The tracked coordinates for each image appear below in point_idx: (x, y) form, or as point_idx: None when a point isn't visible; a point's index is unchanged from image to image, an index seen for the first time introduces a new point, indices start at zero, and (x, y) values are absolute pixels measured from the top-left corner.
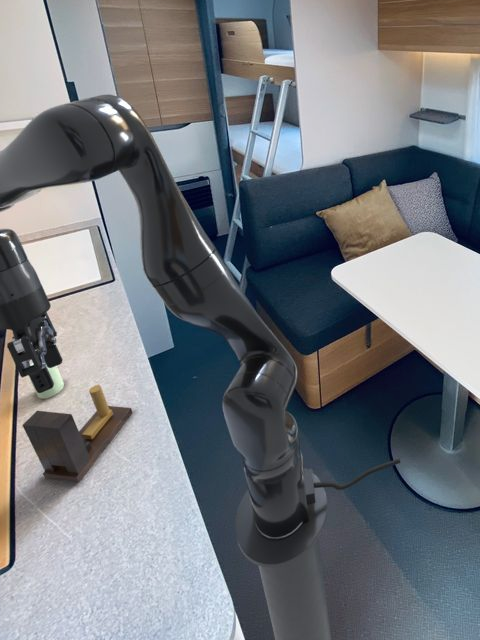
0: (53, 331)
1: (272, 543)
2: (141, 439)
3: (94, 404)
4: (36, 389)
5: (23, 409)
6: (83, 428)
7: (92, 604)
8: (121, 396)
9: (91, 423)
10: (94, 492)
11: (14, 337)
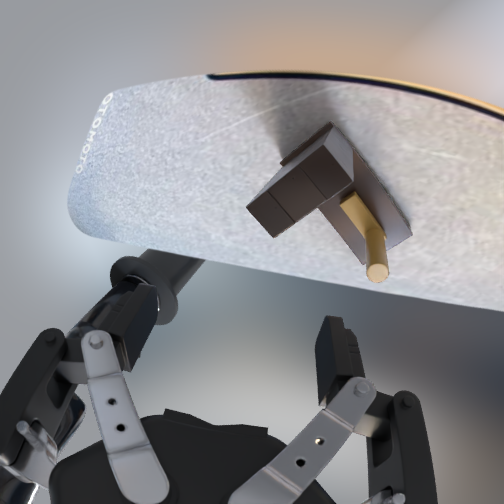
0: (368, 446)
1: (122, 275)
2: (296, 249)
3: (374, 244)
4: (134, 291)
5: None
6: (383, 196)
7: (124, 154)
8: (415, 258)
9: (368, 214)
10: (249, 174)
11: (51, 490)
